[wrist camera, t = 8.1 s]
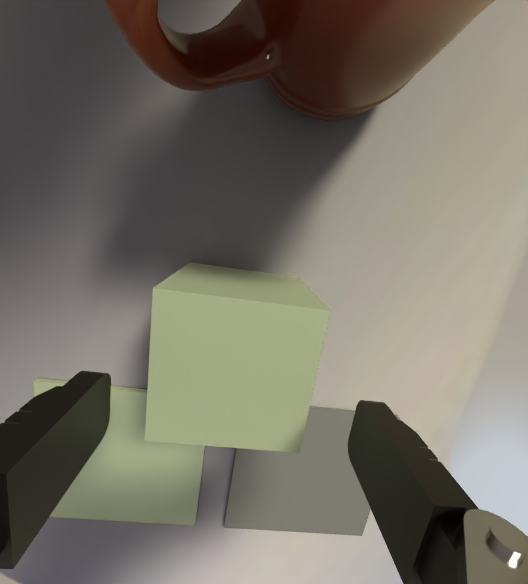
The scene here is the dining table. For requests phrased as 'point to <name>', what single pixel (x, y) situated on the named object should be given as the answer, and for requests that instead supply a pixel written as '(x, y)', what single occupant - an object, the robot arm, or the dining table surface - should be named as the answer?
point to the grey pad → (301, 483)
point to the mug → (301, 47)
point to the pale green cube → (233, 358)
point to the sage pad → (133, 470)
